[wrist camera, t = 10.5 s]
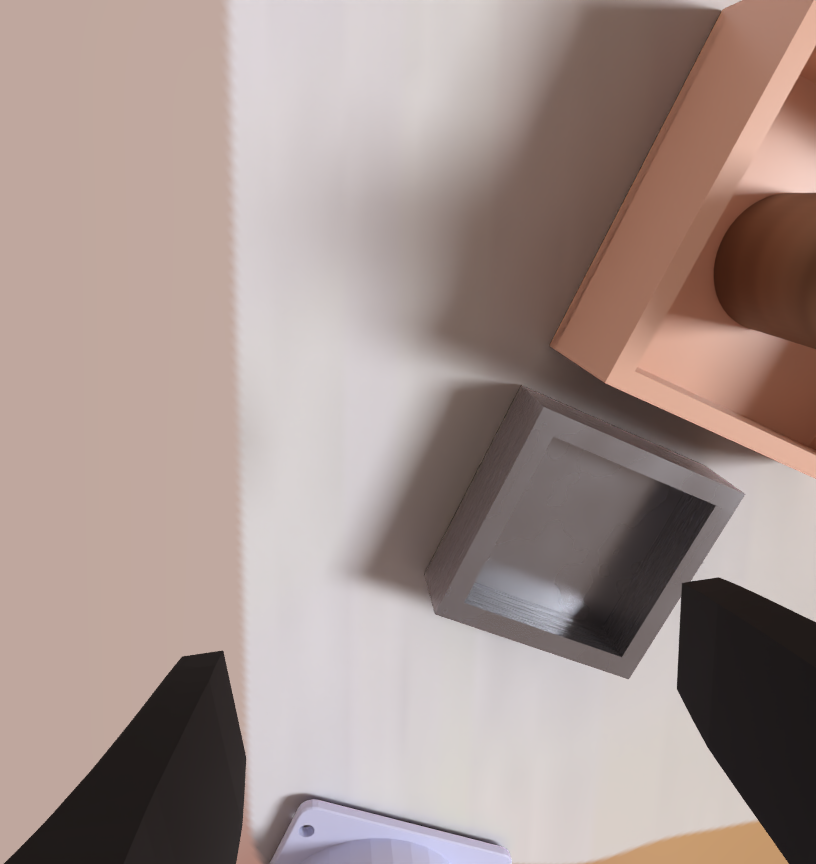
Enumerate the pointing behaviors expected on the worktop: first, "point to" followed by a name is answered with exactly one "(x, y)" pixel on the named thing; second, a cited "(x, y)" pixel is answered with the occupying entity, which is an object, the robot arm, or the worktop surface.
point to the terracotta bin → (710, 242)
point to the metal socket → (576, 536)
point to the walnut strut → (771, 268)
